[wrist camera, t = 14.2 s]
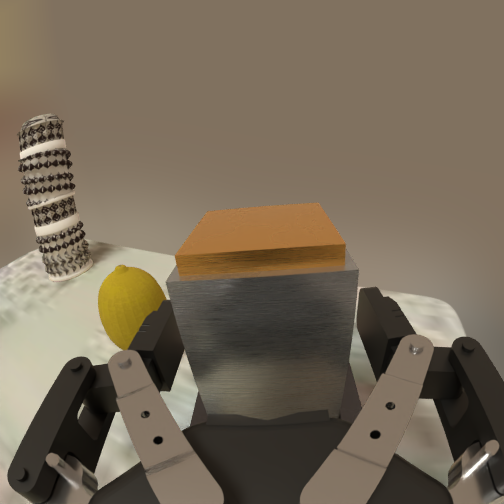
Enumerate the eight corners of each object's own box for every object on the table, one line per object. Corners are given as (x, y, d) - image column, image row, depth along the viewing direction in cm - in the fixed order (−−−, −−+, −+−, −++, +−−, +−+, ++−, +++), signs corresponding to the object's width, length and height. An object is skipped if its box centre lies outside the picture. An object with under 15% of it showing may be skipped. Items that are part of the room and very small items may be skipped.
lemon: (193, 348, 22) (170, 259, 19) (139, 384, 19) (100, 293, 16) (156, 324, 26) (134, 246, 23) (108, 352, 22) (76, 271, 19)
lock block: (325, 469, 12) (360, 247, 7) (231, 472, 12) (160, 260, 7) (317, 402, 16) (324, 200, 11) (239, 406, 17) (201, 210, 12)
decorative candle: (43, 288, 35) (5, 124, 25) (50, 267, 42) (21, 130, 33) (95, 272, 38) (62, 105, 29) (94, 253, 46) (68, 115, 36)
